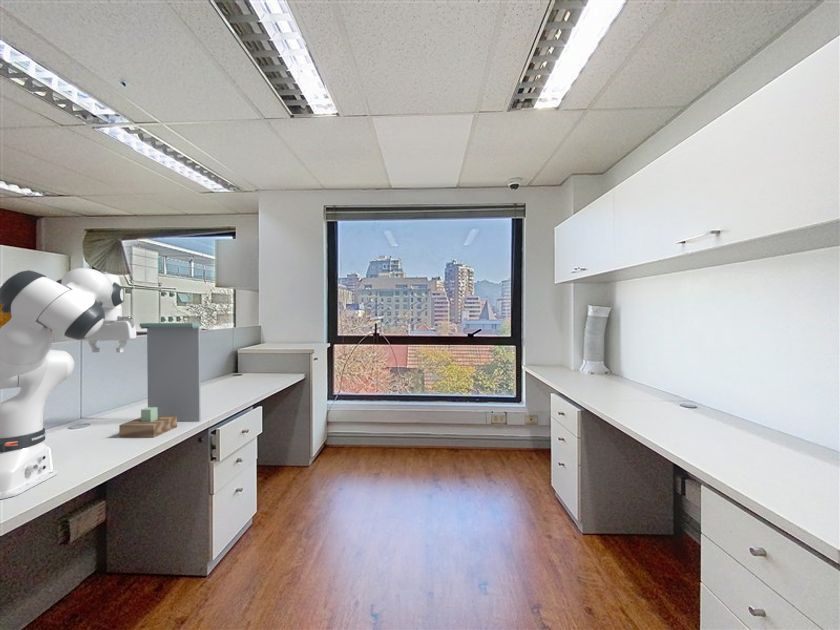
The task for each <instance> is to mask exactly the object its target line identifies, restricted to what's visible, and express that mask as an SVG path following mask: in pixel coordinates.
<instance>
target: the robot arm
mask: <svg viewBox="0 0 840 630" xmlns="http://www.w3.org/2000/svg"><path fill="white" fill-rule="evenodd" d="M124 302H125V289H124V287H123V286H122V283H121V278H120V276H119V275H116V274H114V273H113V274H112V273H108V272H107V273H104V272H101V271H99V270H97V269H94V268H90V267H89V268H88V267H79V268H78V267H77V268H73V269H71V270H69V271H68V272H66V273H65V274H64V275H63V276H62V278H60V279H57V280H56V281H55V280H53V279H51V278H48V277H47V276H46V275H45V274H42V273H40V272H37V271H34V270H28V269H27V270H23V271H19V272H17V273H15V274H13V275H11V276H9V278H7V279H6V280H5V281H4V282H3V283H2V285H1V286H0V304H1V306H2V307H1V308H0V309H1V312H2V313H3V314H8V313H9V314H10V316H11V318H10V319H9V320H8V321H7V322H6V323H5V324H3V325H2V326H1V327H0V390H3V389H13V388H20V391H19V392H18V393H17V394H16V395H14V396H13V397H10V398H8V399H6V400H4V401H2V402H0V500H5V499H8V498H12V497H15V496H18V495H20V494H21V493H23V492H25V491H27V490H29V489H31V488H33V487H35V486H37V485H39V484H41V483H43V482H44V481H47V480H49V479H51V478H52V477H54V476H56V475H58V474H59V472H58V470H57V469H53V459H52V458H53V457H52V451H51V448H50V446H48V445H47V444H46V443H45V440H46V433H47V432H46V428H45V427H44V414H45V413H44V412H45V406H46V401H47V399H48V398H49V396H50V394H51V393H52V392H53V391H54V389H55V388H57V386H59V385H60V384H61V383H62V382H64V381H65V380H67V379H68V378H69V377H70V376H71V375H72V373H73V372H74V371H75V360H74V358H73V356H72V355H71V354H70V352H67V351H66V350H61V349H59V350H58V349H51V348H52V342H53V338H52V333H51V330H53V331H55V332H56V333H60V334H63V335H64V337H67V338H69V339H72V340H73V339H74V340H76V341H77V340H78V341H87V342H88V345H89V347H90V348H91V353H99V352H100V347H98V346H97V343H98V341H99V342H101V341H103V342H104V341H110V342H111V341H112V342H113V341H118V344H119V345H118V347H116V348H115V350H116V351H115V352H116V353H124V352H125V351H124V348H125V347H126V345H127V341H135V340H136V338H137V328H136V322H135V319H134V318H133V317H131V316H123V307H122V303H124Z"/></svg>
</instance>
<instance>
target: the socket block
mask: <svg viewBox="0 0 840 630" xmlns="http://www.w3.org/2000/svg"><path fill="white" fill-rule="evenodd" d="M177 427H178V422H177V416H158V419H157V420H155V421H152V422H141V416H140V417H138V418H135V419H132V420H130V421H127V422H125V423H121V424H119V428H118V429H119V431H118V432H119V433H118V434H119V436H118V437H119V438H121V439H123V438H127V439H128V438H131V439H132V438H142V439H143V438H145V439H146V438H148V439H149V438H155V437H158V436H161V435H163V434H164V433H165V434H166V433H167V432H169V431H171V430H174V429H175V428H177Z"/></svg>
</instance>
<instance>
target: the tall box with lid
mask: <svg viewBox="0 0 840 630" xmlns="http://www.w3.org/2000/svg"><path fill="white" fill-rule="evenodd" d="M139 327H140V329H146V338H147V339H146V343H147V344H146V350H147V351H146V352H147V354H146V355H147V358H146V359H147V361H146V363H147V365H146V367H147V373H146V375H147V407H157V413H158V416H177V423H178V422H179V423H181V422H182V423H183V422H184V423H185V422H187V423H188V422H189V423H191V422H192V423H194V422H195V423H197V422H198V423H200V422H201V418H202V417H201V324H200V322H144V323H139Z"/></svg>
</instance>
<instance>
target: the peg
mask: <svg viewBox="0 0 840 630" xmlns="http://www.w3.org/2000/svg"><path fill="white" fill-rule="evenodd" d="M140 417H141V422H152V421H155V420H157V419H158V413H157V407H148V406H147V407H145V408H142V409H140Z"/></svg>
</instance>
